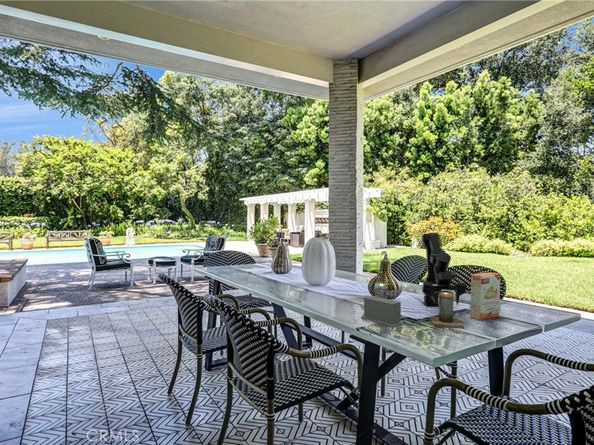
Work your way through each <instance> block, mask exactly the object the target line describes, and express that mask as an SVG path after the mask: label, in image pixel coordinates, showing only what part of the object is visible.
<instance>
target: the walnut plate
mask: <svg viewBox="0 0 594 445" xmlns="http://www.w3.org/2000/svg"><path fill="white" fill-rule="evenodd" d="M428 318H429V321H430V322H431V324H432V325H433V327H434V328H450V329H451V328H453V329H464V328H465V327H464V326H465V325H464V324H463V323H462V322H461V321H460V320H459V319H458V317H454V316H453V322H451V323H445V322H441V321H439V316H428Z"/></svg>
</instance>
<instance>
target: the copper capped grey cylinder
mask: <svg viewBox="0 0 594 445" xmlns="http://www.w3.org/2000/svg"><path fill="white" fill-rule="evenodd" d="M454 298H455V291H454V292H453V291H452V290H441V291H439V294H438V304H439V306H438V317H439V321H441V322H445V323H451V322H453V317H454Z"/></svg>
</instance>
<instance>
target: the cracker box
mask: <svg viewBox="0 0 594 445" xmlns="http://www.w3.org/2000/svg"><path fill="white" fill-rule="evenodd" d="M470 278H471V279H470V280H471V282H470V308H469V309H470V310H469V311H470V312H469V314H470V315H469V318H471V319H475V320H477V321H483V320H488V319H489V320H490V319H494V318H498V317H500V297H501V296H500V293H501V292H500V291H501V274H500V273H496V272H483V273H482V272H481V273H474V274H471V277H470Z"/></svg>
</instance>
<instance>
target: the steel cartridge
mask: <svg viewBox="0 0 594 445" xmlns="http://www.w3.org/2000/svg"><path fill="white" fill-rule="evenodd" d="M374 290H375V292H374V293H375V294H374V296H375V297H380V298H384V299H388V283H386V282H375V283H374Z"/></svg>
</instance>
